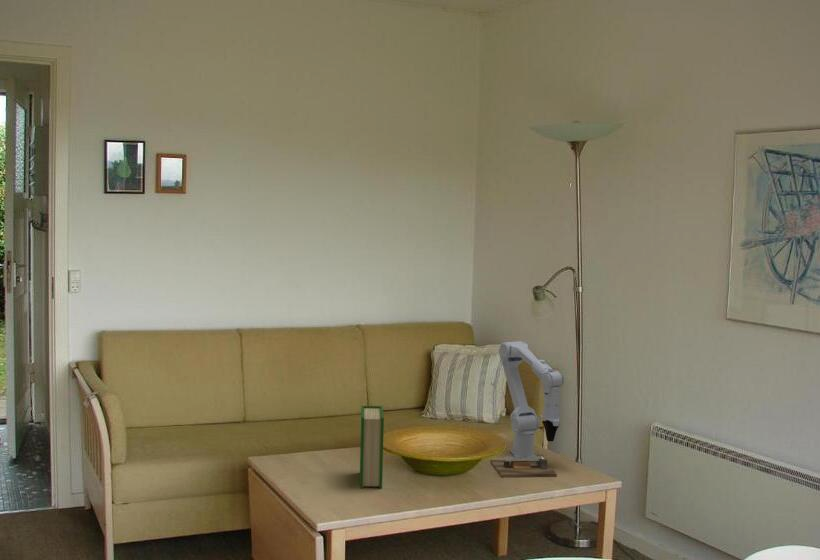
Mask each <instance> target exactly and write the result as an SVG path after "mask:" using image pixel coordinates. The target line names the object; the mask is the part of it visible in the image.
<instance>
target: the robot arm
mask: <svg viewBox="0 0 820 560" xmlns="http://www.w3.org/2000/svg"><path fill="white" fill-rule="evenodd" d="M498 353H499V354H498V355H499V357H500V361H501V362H500V363H501V365H502V366H503V371H504V375H505V379H506V382H507V386H508V389H509V393H510V394H509V395H510V396H511V401H512V405H513V409H514V410H512V412H511V413H510V415H509V418H510V427H511V429H512V431H513V433H514V435H513V439H512V440H513V443H512V445H513V446H512V449H511V450H510V452H511V454H512V455H513V457H523V456H537V454H535V453H534V450H535V448H534V447H535V445H534V444H535V433H537V430H538V429H539V427H540V419H544V420H542V422H541V423H542V425H543V427H544V431H545V438H546V441H547V442H554V440H555V438H556V437H555V436H556V433H557V430H558V428H559V427H560V425H561V423H560V402H561V400H560V398H561V387H562V386H563V385H564V384H565V377H564V374H563V373H562V371H560V370H554V368H553V367H551V366H550V365H549V364H547V361H546V360H544V359H538V358H537V357H536V356H535V354H534V353H533V352H532V351H531V350H530V348H529V344H528V343H526V342H525V340H519V341H503V342H502V343H501V344H500V346H499V348H498ZM523 361H524V362H525V363H527V364H528V365H529V366H530V367H531V372H533V374H535V375H536V376H537V378H539V379H540V382H541V386H542V391H543V412H542V413H543V414H542V415H539V417H540V418H539V417H538V416H537V414H536V411H535V409H534V408H532V407H531V406H529V405H528V400H527V396H526V392H525V390H524V386H523V383H522V379H521V375H520V371H519V365H520V364H522V362H523Z"/></svg>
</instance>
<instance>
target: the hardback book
mask: <svg viewBox="0 0 820 560" xmlns="http://www.w3.org/2000/svg"><path fill="white" fill-rule="evenodd" d="M360 409H361V410H360V412H361V413H360V449H359V453H360V454H359V489H360V490H361V489H362V490H363V488H364V487H379V488H378V489H379V490H382V489H383V470H384V469H383V465H384V464H383V462H384V426H385V425H384V420H385V415H384V407H383V405H361V406H360Z"/></svg>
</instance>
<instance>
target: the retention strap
mask: <svg viewBox="0 0 820 560" xmlns="http://www.w3.org/2000/svg"><path fill="white" fill-rule="evenodd" d="M539 455H540V456H537V455H536V456H523V457H515V456H503V458H502V460H504V461H541V459H545V458H544V456H543V457H542V456H541V455H542V454H539Z"/></svg>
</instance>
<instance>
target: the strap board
mask: <svg viewBox="0 0 820 560" xmlns="http://www.w3.org/2000/svg"><path fill="white" fill-rule="evenodd" d="M540 455H541V456H542V457H543V458H544V455H543V454H536V456H540ZM489 463H490V464H491V466H492V467H493V468H494V470H495V471H496V472H497V474H498V475H499V476H500V478H537V477H538V478H545V477H547V478H550V477H551V478H552V477H554V478H555V477H557V472H556V471H554V469H553V468H552V466H550V465H549V464H548V459H547V458H544V459H541V461H504V459H490V462H489Z"/></svg>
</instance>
